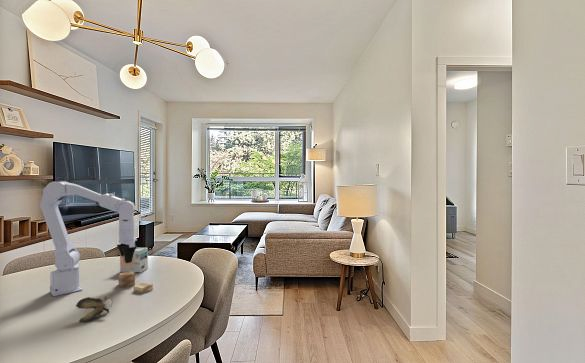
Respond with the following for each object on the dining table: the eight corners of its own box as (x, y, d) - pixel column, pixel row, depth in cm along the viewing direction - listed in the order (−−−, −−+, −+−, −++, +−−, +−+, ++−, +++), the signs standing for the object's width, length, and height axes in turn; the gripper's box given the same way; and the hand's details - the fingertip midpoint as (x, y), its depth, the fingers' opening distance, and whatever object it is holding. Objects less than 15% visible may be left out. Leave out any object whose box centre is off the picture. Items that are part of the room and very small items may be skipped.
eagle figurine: (100, 305, 108) (72, 309, 101) (110, 289, 107) (81, 292, 99) (108, 322, 104) (79, 328, 97) (117, 306, 103) (88, 311, 95)
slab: (141, 294, 122) (141, 288, 121) (133, 292, 124) (133, 285, 124) (152, 290, 126) (152, 284, 126) (144, 288, 128) (144, 282, 128)
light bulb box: (148, 268, 154) (148, 247, 154) (140, 273, 148) (140, 250, 147) (128, 268, 155) (128, 246, 155) (119, 272, 149) (119, 249, 149)
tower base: (121, 288, 128) (121, 282, 128) (118, 285, 132) (118, 279, 132) (134, 285, 131) (134, 279, 131) (131, 282, 135) (131, 276, 135)
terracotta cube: (123, 267, 129) (123, 257, 129) (120, 265, 132) (120, 256, 132) (133, 265, 132) (133, 256, 132) (130, 263, 134) (130, 254, 134)
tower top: (121, 282, 128) (121, 276, 128) (119, 279, 132) (118, 273, 132) (135, 279, 131) (135, 273, 131) (131, 276, 135) (131, 271, 135)
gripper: (142, 230, 129) (142, 263, 129) (131, 226, 139) (131, 256, 139) (124, 232, 124) (124, 266, 124) (113, 228, 134) (113, 259, 135)
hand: (126, 261), depth 132 cm, fingers closed on terracotta cube, 4 cm apart
